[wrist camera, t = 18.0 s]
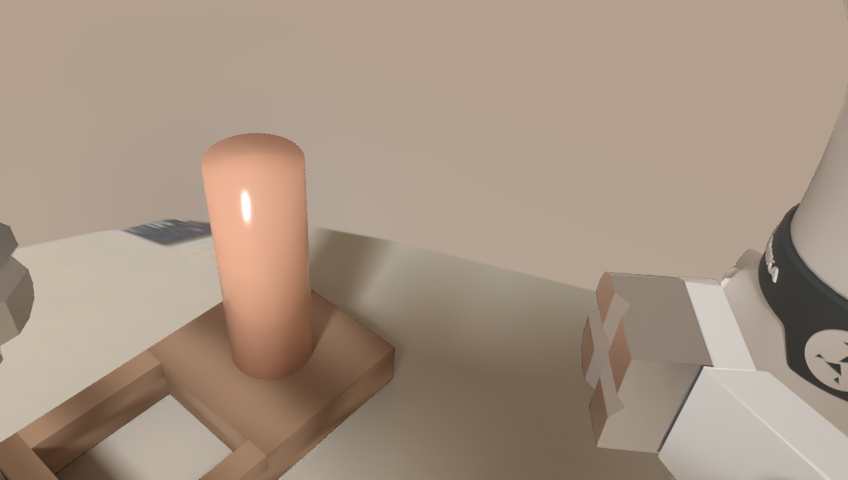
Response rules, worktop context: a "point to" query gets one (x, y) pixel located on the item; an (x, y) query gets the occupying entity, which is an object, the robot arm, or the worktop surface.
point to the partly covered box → (217, 398)
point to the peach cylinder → (261, 250)
